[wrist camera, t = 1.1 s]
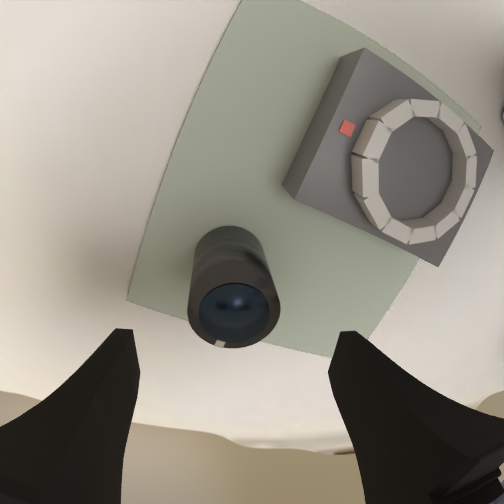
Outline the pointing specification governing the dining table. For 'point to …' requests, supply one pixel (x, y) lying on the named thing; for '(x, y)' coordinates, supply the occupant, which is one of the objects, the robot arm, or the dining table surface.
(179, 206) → the mat
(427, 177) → the camera body
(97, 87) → the dining table surface
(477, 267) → the dining table surface
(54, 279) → the dining table surface
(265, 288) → the lens
